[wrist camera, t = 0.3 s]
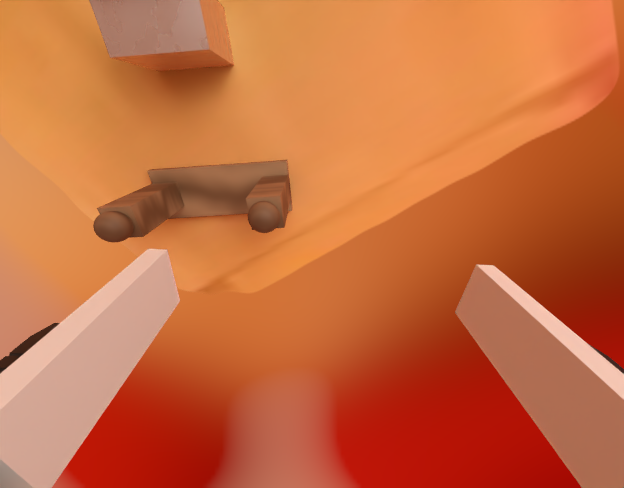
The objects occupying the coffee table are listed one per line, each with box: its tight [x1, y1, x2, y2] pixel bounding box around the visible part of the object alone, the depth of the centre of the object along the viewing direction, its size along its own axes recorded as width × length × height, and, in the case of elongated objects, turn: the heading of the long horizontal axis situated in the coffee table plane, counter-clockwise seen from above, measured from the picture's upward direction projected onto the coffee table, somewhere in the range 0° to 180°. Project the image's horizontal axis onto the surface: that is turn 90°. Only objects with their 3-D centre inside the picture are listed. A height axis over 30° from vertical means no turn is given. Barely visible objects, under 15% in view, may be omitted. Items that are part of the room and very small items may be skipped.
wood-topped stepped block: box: [90, 0, 234, 71], centre depth 24 cm, size 5×9×9 cm, turn 94°
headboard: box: [94, 160, 292, 242], centre depth 30 cm, size 7×19×14 cm, turn 94°
